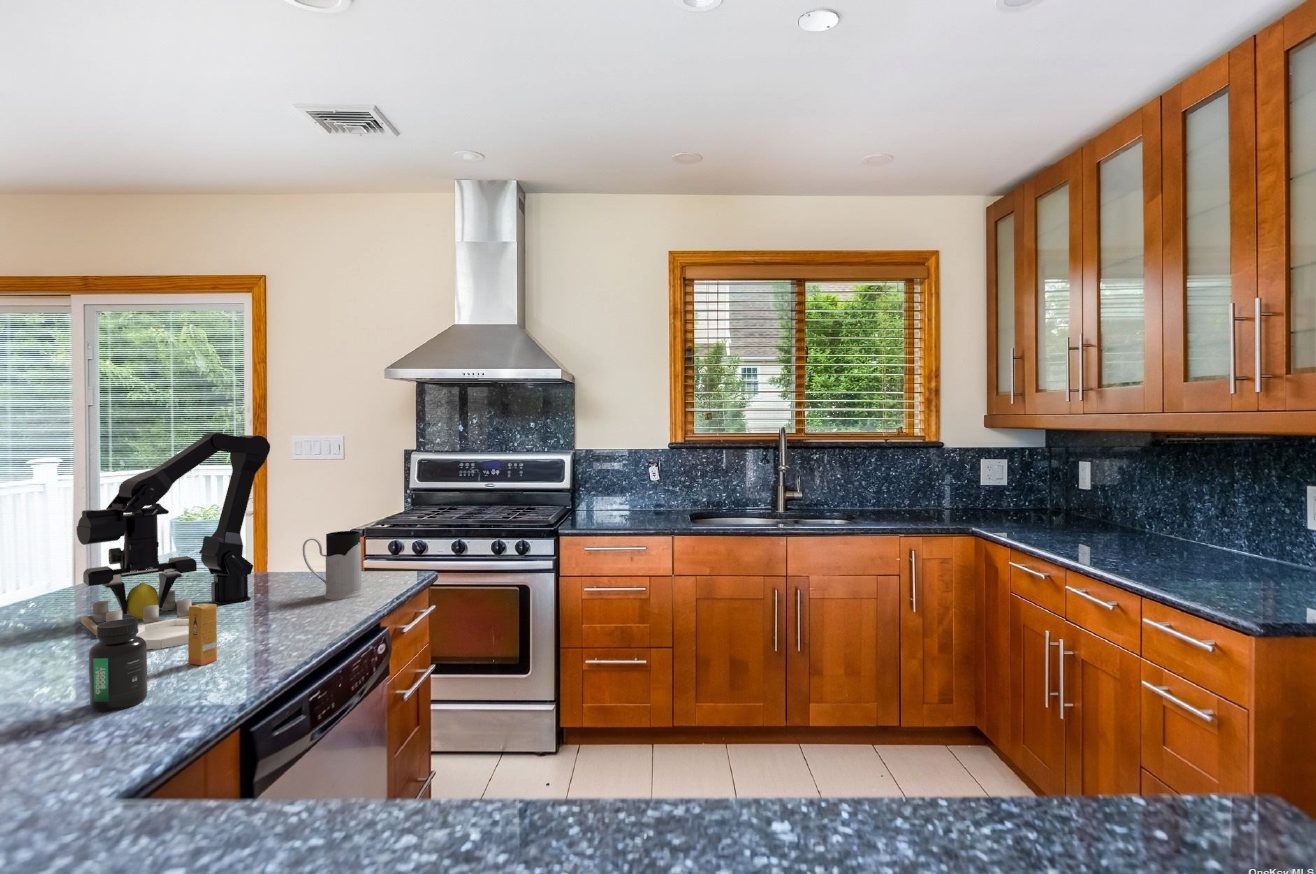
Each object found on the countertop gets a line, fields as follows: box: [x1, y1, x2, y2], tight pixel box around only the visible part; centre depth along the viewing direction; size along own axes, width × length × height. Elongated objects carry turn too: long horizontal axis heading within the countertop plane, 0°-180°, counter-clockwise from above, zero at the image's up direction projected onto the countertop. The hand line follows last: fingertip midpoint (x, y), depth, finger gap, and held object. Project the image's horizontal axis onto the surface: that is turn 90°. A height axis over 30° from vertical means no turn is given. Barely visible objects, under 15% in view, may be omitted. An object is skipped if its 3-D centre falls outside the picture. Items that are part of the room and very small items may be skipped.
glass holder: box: [302, 530, 364, 601], centre depth 170 cm, size 9×14×15 cm, turn 89°
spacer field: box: [79, 589, 193, 637], centre depth 149 cm, size 18×18×4 cm
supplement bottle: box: [88, 618, 148, 713], centre depth 104 cm, size 7×7×12 cm
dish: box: [136, 618, 189, 650], centre depth 136 cm, size 14×14×2 cm
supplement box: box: [187, 603, 218, 666], centre depth 122 cm, size 3×3×10 cm
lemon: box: [126, 582, 159, 621], centre depth 149 cm, size 6×6×8 cm
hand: (142, 610), depth 149 cm, fingers open, 6 cm apart
